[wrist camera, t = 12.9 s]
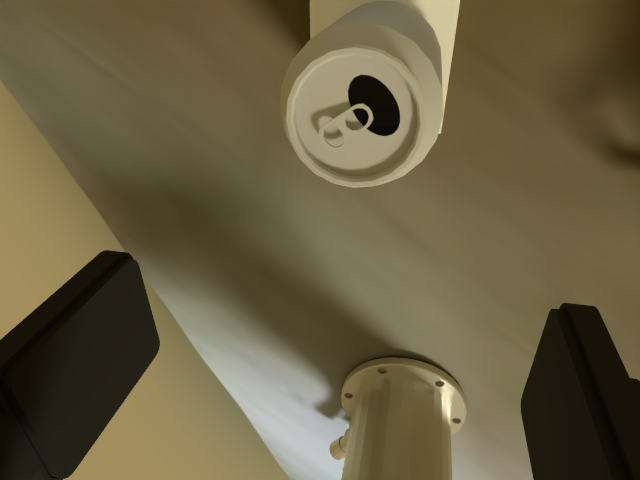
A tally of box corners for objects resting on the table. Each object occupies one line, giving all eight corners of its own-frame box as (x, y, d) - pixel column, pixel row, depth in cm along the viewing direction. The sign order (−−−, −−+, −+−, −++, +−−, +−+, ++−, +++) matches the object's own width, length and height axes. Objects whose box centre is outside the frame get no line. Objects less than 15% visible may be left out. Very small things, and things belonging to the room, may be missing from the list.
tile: (440, 129, 31) (440, 133, 31) (314, 121, 33) (311, 125, 32) (462, -20, 26) (462, -19, 26) (312, -21, 28) (309, -20, 27)
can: (464, 79, 28) (478, 148, 19) (367, 142, 32) (335, 228, 22) (399, -31, 26) (376, -18, 16) (302, 50, 30) (235, 101, 20)
